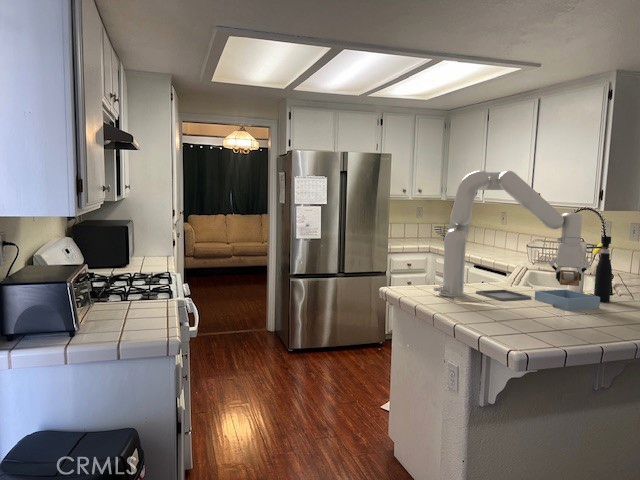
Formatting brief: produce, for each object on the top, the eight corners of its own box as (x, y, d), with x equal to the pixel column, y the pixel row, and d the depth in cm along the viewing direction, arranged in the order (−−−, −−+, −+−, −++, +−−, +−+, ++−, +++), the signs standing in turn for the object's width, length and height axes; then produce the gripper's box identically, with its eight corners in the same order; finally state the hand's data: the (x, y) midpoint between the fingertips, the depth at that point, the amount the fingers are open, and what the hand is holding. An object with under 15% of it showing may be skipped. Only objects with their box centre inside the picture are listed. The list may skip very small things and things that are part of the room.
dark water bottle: (593, 301, 222) (598, 236, 220) (593, 299, 228) (598, 235, 225) (609, 303, 219) (615, 237, 217) (609, 300, 225) (614, 236, 222)
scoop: (560, 284, 207) (561, 273, 206) (557, 280, 218) (558, 269, 217) (578, 286, 204) (579, 274, 204) (575, 281, 215) (575, 270, 215)
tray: (500, 303, 212) (501, 298, 212) (475, 295, 228) (475, 290, 228) (531, 301, 218) (531, 296, 218) (504, 294, 234) (504, 289, 234)
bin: (567, 310, 200) (568, 299, 200) (534, 301, 217) (535, 290, 217) (599, 308, 207) (600, 297, 206) (564, 299, 223) (565, 289, 223)
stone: (563, 281, 211) (563, 272, 210) (562, 280, 214) (562, 271, 214) (573, 282, 209) (573, 273, 209) (572, 281, 213) (572, 272, 213)
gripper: (549, 240, 209) (546, 281, 211) (594, 242, 203) (591, 284, 204) (547, 239, 216) (545, 278, 218) (591, 241, 210) (589, 282, 211)
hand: (568, 281), depth 211 cm, fingers closed on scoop, 7 cm apart
